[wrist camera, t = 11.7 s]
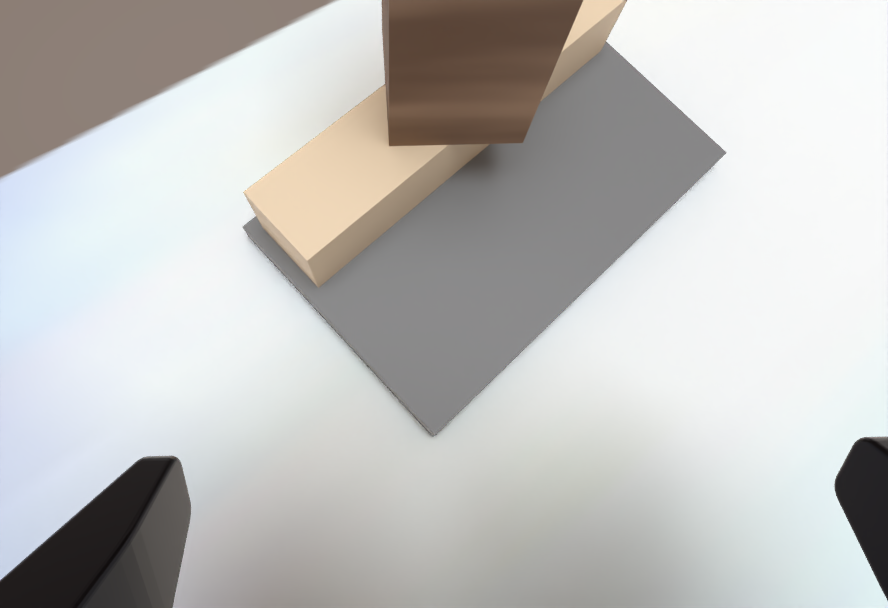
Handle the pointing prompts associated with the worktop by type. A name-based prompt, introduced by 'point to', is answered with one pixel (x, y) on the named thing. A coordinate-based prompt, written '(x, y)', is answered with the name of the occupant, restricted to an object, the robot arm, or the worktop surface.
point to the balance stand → (476, 221)
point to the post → (469, 67)
